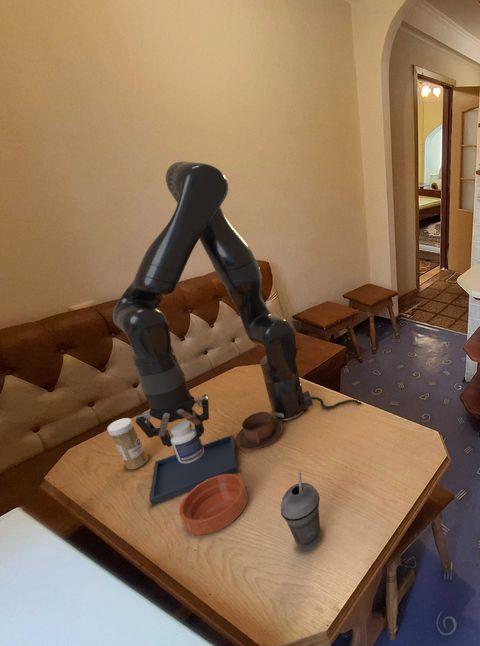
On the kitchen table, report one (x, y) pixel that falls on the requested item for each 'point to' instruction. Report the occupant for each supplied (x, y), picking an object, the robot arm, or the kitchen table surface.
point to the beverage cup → (302, 514)
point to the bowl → (213, 504)
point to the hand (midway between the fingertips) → (185, 439)
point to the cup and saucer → (259, 431)
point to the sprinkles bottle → (128, 443)
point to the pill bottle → (186, 442)
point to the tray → (192, 470)
